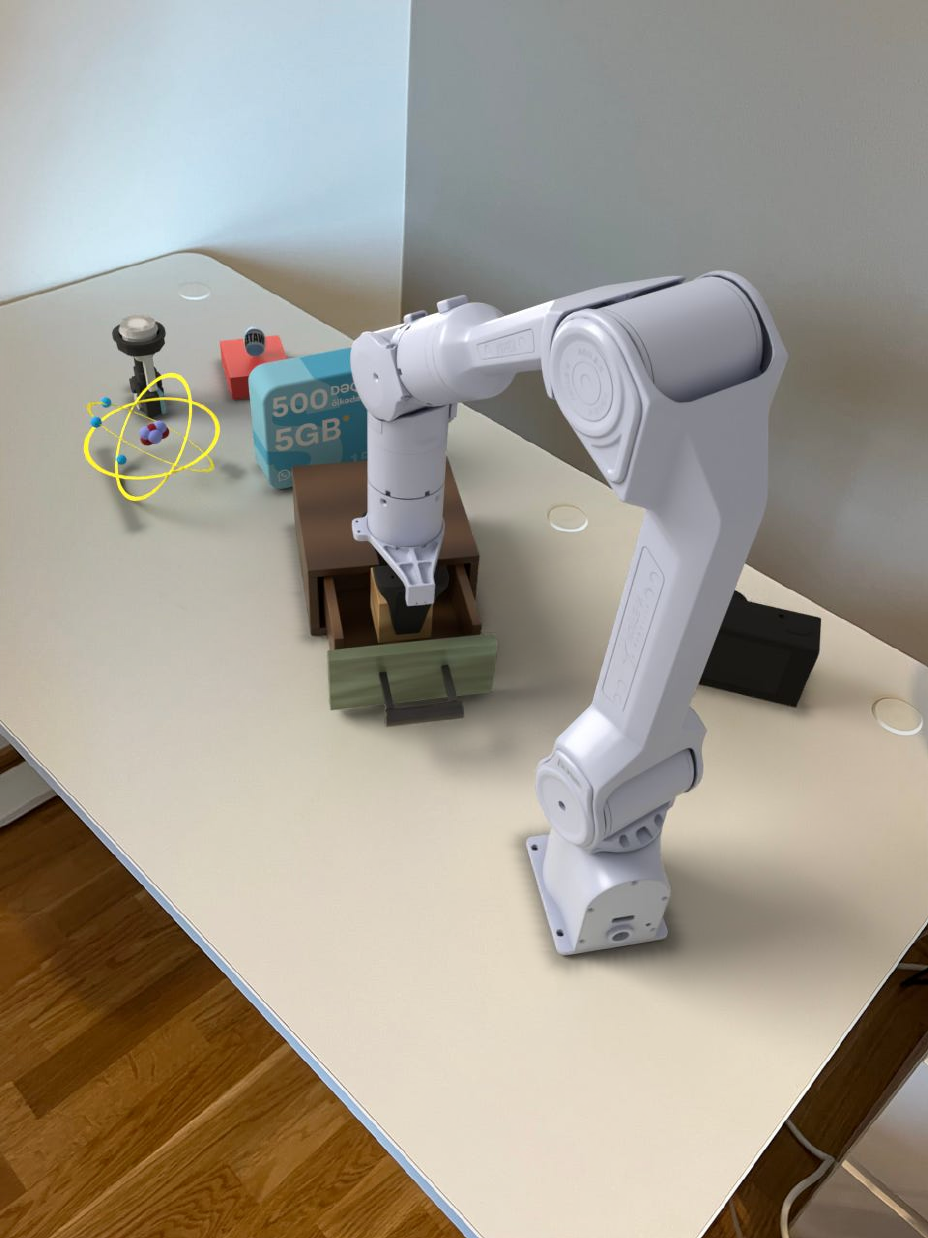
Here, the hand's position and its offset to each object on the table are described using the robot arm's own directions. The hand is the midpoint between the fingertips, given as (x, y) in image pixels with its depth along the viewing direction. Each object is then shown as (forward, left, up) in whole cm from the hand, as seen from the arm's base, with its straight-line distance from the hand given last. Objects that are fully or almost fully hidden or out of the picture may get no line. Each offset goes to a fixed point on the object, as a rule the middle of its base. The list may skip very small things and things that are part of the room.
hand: (402, 609), depth 88 cm
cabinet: (+11, 0, -6) cm, 12 cm away
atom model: (+28, +20, -6) cm, 35 cm away
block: (0, 0, -1) cm, 1 cm away
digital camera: (-6, -29, -6) cm, 30 cm away
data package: (+28, +4, -6) cm, 29 cm away
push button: (+42, +21, -6) cm, 47 cm away
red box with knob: (+46, +9, -6) cm, 47 cm away
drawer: (-2, 0, -5) cm, 5 cm away
